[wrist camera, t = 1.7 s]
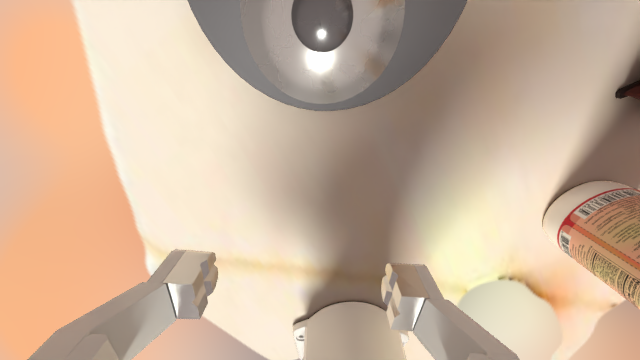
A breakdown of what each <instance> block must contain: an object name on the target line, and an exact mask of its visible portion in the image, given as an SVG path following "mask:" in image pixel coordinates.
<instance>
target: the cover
mask: <svg viewBox="0 0 640 360" xmlns="http://www.w3.org/2000/svg"><path fill="white" fill-rule="evenodd" d="M240 12H241V21H242V28H243V32H244V37H245V40H246V43H247V45H248V48H249V51H250V53H251V55H252V57H253V59H254V61H255V62H256V64H257V66H258V67H259V69H260V70H261V71H262V73H263V74H264V75H265V77H266V78H267V79H268V80H269V81H270V82H271V83H272V84H273V85H275V86H276V87H277V88H278V89H280V90H281V91H282V92H284V93H286V94H287V95H289V96H291V97H293V98H296V99H298V100H301V101H304V102H308V103H315V104H329V103H336V102H340V101H344V100H346V99H349V98H351V97H353V96H355V95H357V94H359V93H360V92H362V91H363V90H365V89H366V88H367V87H369V86H370V85H371V84H372V83H373V82H374V81H375V80H376V79H377V78H378V77H379V76H380V75H381V73H382V72H383V71H384V70H385V68H386V67H387V65H388V63H389V62H390V60H391V58H392V56H393V54H394V52H395V50H396V48H397V45H398V42H399V39H400V36H401V32H402V28H403V21H404V14H405V0H240Z"/></svg>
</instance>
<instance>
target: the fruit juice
mask: <svg viewBox="0 0 640 360" xmlns="http://www.w3.org/2000/svg"><path fill="white" fill-rule="evenodd" d="M543 230H544V232H545V234H546V236H547V237H548V238H549V240H550V241H552V242H553V243H554V244H555V245H556V246H557V247H559V248H560V249H561V250H563V251H564V252H565V253H566V254H568V255H569V256H570V257H572V258H573V259H574V260H576V261H577V262H578V263H580V264H581V265H582V266H583V267H585V268H586V269H587V270H589V271H590V272H591V273H593V274H594V275H595V276H597V277H598V278H599V279H600V280H602V281H603V282H604V283H606V284H607V285H608V286H610V287H611V288H612V289H614V290H615V291H616V292H618V293H619V294H620V295H621V296H623V297H624V298H625V299H627V300H628V301H629V302H631V303H632V304H633V305H635V306H636V307H637V308H638V309H640V190H637V189H635V188H632V187H629V186H627V185H624V184H620V183H617V182H612V181H592V182H588V183H584V184H581V185H579V186H576V187H574V188H572V189H570V190H569V191H567V192H565V193H564V194H563V195H561V196H560V197H559V198H558V199H556V200H555V201H554V202H553V204H552V205H551V206H550V207H549V209H548V210H547V212H546V214H545V216H544V219H543Z"/></svg>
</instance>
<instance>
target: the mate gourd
mask: <svg viewBox="0 0 640 360" xmlns="http://www.w3.org/2000/svg"><path fill="white" fill-rule="evenodd" d="M627 96H630V97H634V98H637V99H640V81H637V82H635V83H633V84H630V85H628V86H626V87H623V88H621V89H619V90H617V91H616V95H615V97H616V98H620V99H621V98H624V97H627Z"/></svg>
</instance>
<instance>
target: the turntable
mask: <svg viewBox="0 0 640 360" xmlns="http://www.w3.org/2000/svg"><path fill="white" fill-rule="evenodd" d="M188 2H189V5H190V7H191V10H192V12H193V14H194V15H195V17H196V19H197V21H198V23H199V25H200V27H201V29H202V31H203V32H204V34H205V35H206V37H207V38H208V40H209V41H210V43H211V44H212V46H213V47H214V49H215V50H216V51H217V52H218V54H219V55H220V56H221V57H222V58H223V60H224V61H225V62H226V63H227V64H228V65H229V66H230V67H231V68H232V69H233V70H234V71H235V72H236V73H237V74H238V75H239V76H240V77H241V78H242V79H244V80H245V81H246V82H248V83H249V84H250V85H251V86H253V87H254V88H255V89H257V90H259V91H260V92H262V93H264V94H266V95H267V96H269V97H271V98H273V99H275V100H278V101H280V102H282V103H285V104H288V105H291V106H295V107H298V108H302V109H309V110H316V111H335V110H343V109H350V108H354V107H357V106H361V105H365V104H367V103H370V102H372V101H375V100H377V99H380V98H381V97H383V96H385V95H387V94H389V93H390V92H392V91H394V90H396V89H397V88H398V87H400V86H401V85H403V84H404V83H405V82H407V81H408V80H409V79H411V78H412V77H413V76H414V75H415V74H416V73H417V72H418V71H419V70H420V69H422V68H423V67H424V66H425V65H426V63H427V62H428V61H429V60H430V59H431V58H432V57H433V55H434V54H435V53H436V52H437V51H438V50H439V48H440V47H441V45H442V44H443V43H444V41H445V40H446V38H447V37H448V35H449V34H450V33H451V31H452V29H453V27H454V26H455V24H456V22H457V20H458V19H459V17H460V15H461V13H462V11H463V9H464V7H465V4H466V2H467V0H405V14H404V21H403V28H402V32H401V36H400V39H399V42H398V45H397V48H396V50H395V52H394V54H393V56H392V58H391V60H390V62H389V63H388V65H387V67H386V68H385V70H384V71H383V72H382V73H381V75H380V76H379V77H378V78H377V79H376V80H375V81H374V82H373V83H372V84H371V85H370V86H369V87H367V88H366V89H365V90H363V91H362V92H360V93H359V94H357V95H355V96H353V97H351V98H349V99H346V100H344V101H340V102H336V103H329V104H315V103H308V102H304V101H301V100H298V99H296V98H293V97H291V96H289V95H287V94H286V93H284V92H282V91H281V90H280V89H278V88H277V87H276V86H275V85H273V84H272V83H271V82H270V81H269V80H268V79H267V78H266V77H265V75H264V74H263V73H262V71H261V70H260V69H259V67H258V66H257V64H256V62H255V61H254V59H253V57H252V55H251V53H250V51H249V48H248V45H247V43H246V40H245V37H244V32H243V28H242V21H241V12H240V0H188Z"/></svg>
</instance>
